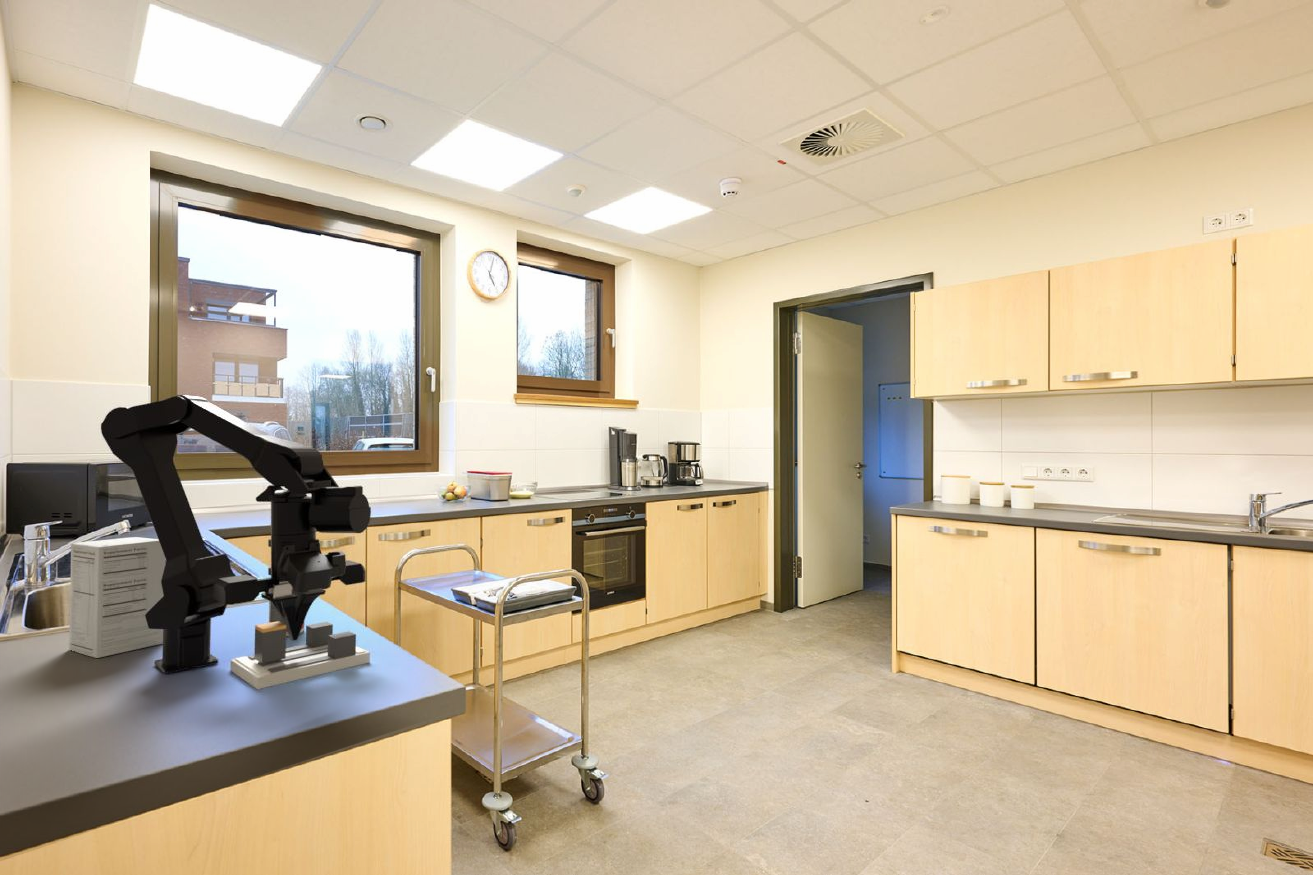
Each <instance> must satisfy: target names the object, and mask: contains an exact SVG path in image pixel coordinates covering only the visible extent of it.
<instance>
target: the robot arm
mask: <svg viewBox="0 0 1313 875" xmlns="http://www.w3.org/2000/svg"><path fill="white" fill-rule="evenodd" d="M191 429H192V430H193V431H195V432H197V433H199V434H201V435H202V436H204V437H206V438H209V440H211V441H214V442H215V443H217V444H219V445H221V446H223V447H225V448H227V449H229V450H230V451H232V452H233V453H236V454H237V455H239V456H240V457H243V458H244V459H245V460H247V462H249V464H250V465H251V466H252V469H253V471H254V472H256V473H257V474H258V475H260V476H261V477H262V478H263V479H264V480H266V482H268V483H270V484H269V485H267V487H266V488H265V490H264V491H262V492H261V493H260V494H258V495H257V496H255V501H256V502H257V503H270V538H269V539H268V541H267V546H268V547H269V548H270V567H268V568H267V569H268V572H267V574H268V576H270V577H265V578H256V577H253V576H250V575H248V574H241V575H240V574H239V575H236V573H234V571H233V569H232V567H231V562H230V558H229V557H228V555H227V554H226V553H221V554H216V555H215V554H214V553H213V552H212V551H210V549H208V548H207V546H206V544H205V542H204V539H203V536H202V534H201V531H200V528H199V526H198V524H197V520H196V518H195V515H194V513H193V510H192V508H191V504H190V502H189V499H188V497H187V495H186V492H185V489H184V486H183V484H182V481H181V478H180V476H179V474H178V471H177V468H176V465H175V462H174V457H175V453H176V451H177V446H178V443H179V442H178V435H181V434H183V433H186V432H189V431H190V430H191ZM100 430H101V435H102V437H103V440H104V441H105V442H106V445H107V446H108V447H109V449H110V451H111V453H112V454H113V455H114V456H115V457H117V458H118V459H119V460H120V461H121V462H122V463H124V464H125V465H126V466H127V467H128V468H129V469H131V472H133V476H134V478H135V480H136V483H137V486H138V489H139V491H140V494H141V496H142V499H143V502H144V504H145V507H146V510H147V512H148V513H147V514H148V515H149V518H150V520H151V523H152V526H153V527H154V531H155V533H156V534H155V535H156V536H157V539H159V542H160V545H161V547H162V550H163V553H164V555H165V568H164V572H163V576H162V579H161V585H162V590H163V595H164V596H163V597H162V598H161V599H160V600H159V601H158V602H157V603H156V604H155V605H154V606H153V607H152V608H151V609H150V610H149V611H148V612H147V613H146V614H145V617H146V621H147V624H148V627H149V629H163V644H162V655H161V656H162V658H161V659H156V660H154V662H153V663H154V665H155V666H156V667H157V668H158V669H159V670H160V671H161V672H162V673H163V674H164V673H165V674H171V673H174V672H181V671H184V670H185V671H186V670H189V669H194V668H201V667H205V666H209V665H215V664H218V663H219V658H217V657H216V656H214V655H213V654H211V636H212V634H211V633H212V631H211V629H212V628H211V627H212V625H211V624H212V619H214V618H217V617H221V616H224V613H225V611H226V609H227V607H228V606H231V605H238V604H243V603H248V602H249V603H250V602H254V600H255V599H256V598H258V596H260V595H261V596H260V598H262V599H265V600H267V601H268V602H269V601H271V602H272V603H273V605H274V606H275V608H276V609H277V611H278V613H279V615H280V617H281V619H282V621H283V623H284V624H285V625H286V630H287V632H288V634H289V636H288V637H289V638H290V640H291V641H293V642H294V641H297V640H298V638H299V636H300V634H301V633H300V631H301V628H302V625H303V623H304V624H305V621H306V620H305V619H306V618H307V615H308V612H309V610H310V608H311V606H312V605H313V603H314V602H315V600H317V598H318V597H320V596H323V595H325V594H326V592H327V591H326V590H327V589H329V588H331V585H332V582H333V581H340V583H342V584H344V586H349V585H356V584H362V583H365V582H366V581H367V580H366V579H367V578H366V576H367V575H366V574H367V573H366V571H367V570H366V568H365V566H364V565H363V564H362V563H360V562H356V561H353V560H348V559H347V560H346V553H345V552H344V551H343V550H336V551H329V552H327V553H322V551H321V543H320V539H318V538H317V532H318V533H322V534H361V533H364V532H365V531H366V530H367V528H368V526H369V523H370V520H371V515H372V513H371V512H372V508H371V506H370V504H369V503H370V502H369V501H368V498H367V496H366V495H365V494H364V490H363V489H364V487H363V486H362V485H351V486H349V485H348V486H344V487H343V486H339V484H338V483H337V482H336V481H335V478H334V477H333V476H332V474H331V473H330V471H328V469H327V467H326V466H325V465H324V460H323V455H322V453H321V451H319V450H318V449H317V448H314V447H313V446H308V445H305V444H302V443H300V442H296V441H292V440H287V439H284V438H279V437H276V436H273V435H270V434H268V433H267V432H264V431H263V430H260V429H259V428H257V427H255V426H254V425H251V424H249V423H248V422H246V421H243V420H242V419H240V418H239V417H237V416H235V415H232V413H230V412H227V411H225V410H224V409H222V408H220V407H218V406H217V405H215V404H213V403H211V402H210V401H209V400H208V399H206V398H205V397H202V396H194V395H186V394H184V395H183V394H178V395H175V396H171V397H168V398H165V399H163V400H159V401H154V402H147V403H144V404H139V405H134V406H130V407H122V406H118V407H115V408H113V409H112V410H109V411H108V413H107V414H106V415H105V417H104V419H103V421H102V422H100ZM308 495H311V496H308ZM287 581H288V582H287ZM281 582H284V583H281ZM260 593H261V594H260Z"/></svg>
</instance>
